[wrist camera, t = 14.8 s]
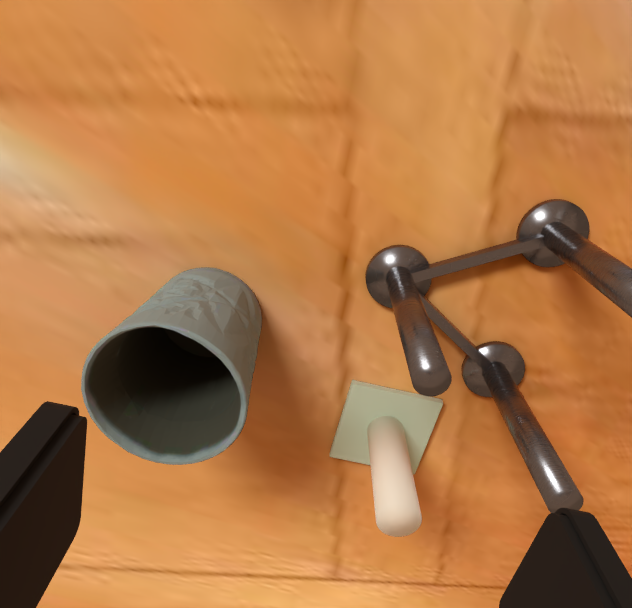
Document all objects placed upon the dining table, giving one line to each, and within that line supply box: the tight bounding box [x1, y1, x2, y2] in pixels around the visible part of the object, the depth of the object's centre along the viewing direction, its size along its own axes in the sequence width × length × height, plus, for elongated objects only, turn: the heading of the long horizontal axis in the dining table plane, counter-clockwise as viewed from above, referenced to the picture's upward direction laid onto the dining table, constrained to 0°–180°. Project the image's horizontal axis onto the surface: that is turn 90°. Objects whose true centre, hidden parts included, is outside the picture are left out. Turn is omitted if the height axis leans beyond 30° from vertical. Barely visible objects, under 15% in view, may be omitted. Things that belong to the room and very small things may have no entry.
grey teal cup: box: [81, 268, 262, 465], centre depth 37 cm, size 10×10×12 cm
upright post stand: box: [366, 199, 632, 513], centre depth 34 cm, size 15×17×15 cm
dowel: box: [367, 416, 422, 537], centre depth 41 cm, size 3×3×10 cm
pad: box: [330, 380, 443, 474], centre depth 46 cm, size 8×8×1 cm
